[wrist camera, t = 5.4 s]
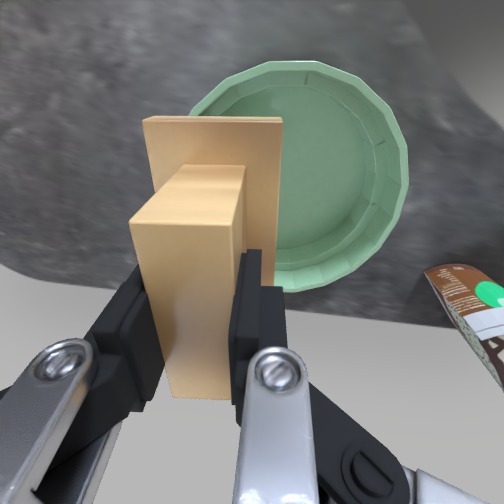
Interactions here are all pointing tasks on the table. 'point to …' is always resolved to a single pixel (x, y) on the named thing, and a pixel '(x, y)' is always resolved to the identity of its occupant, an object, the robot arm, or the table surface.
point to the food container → (473, 311)
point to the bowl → (323, 165)
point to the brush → (205, 236)
